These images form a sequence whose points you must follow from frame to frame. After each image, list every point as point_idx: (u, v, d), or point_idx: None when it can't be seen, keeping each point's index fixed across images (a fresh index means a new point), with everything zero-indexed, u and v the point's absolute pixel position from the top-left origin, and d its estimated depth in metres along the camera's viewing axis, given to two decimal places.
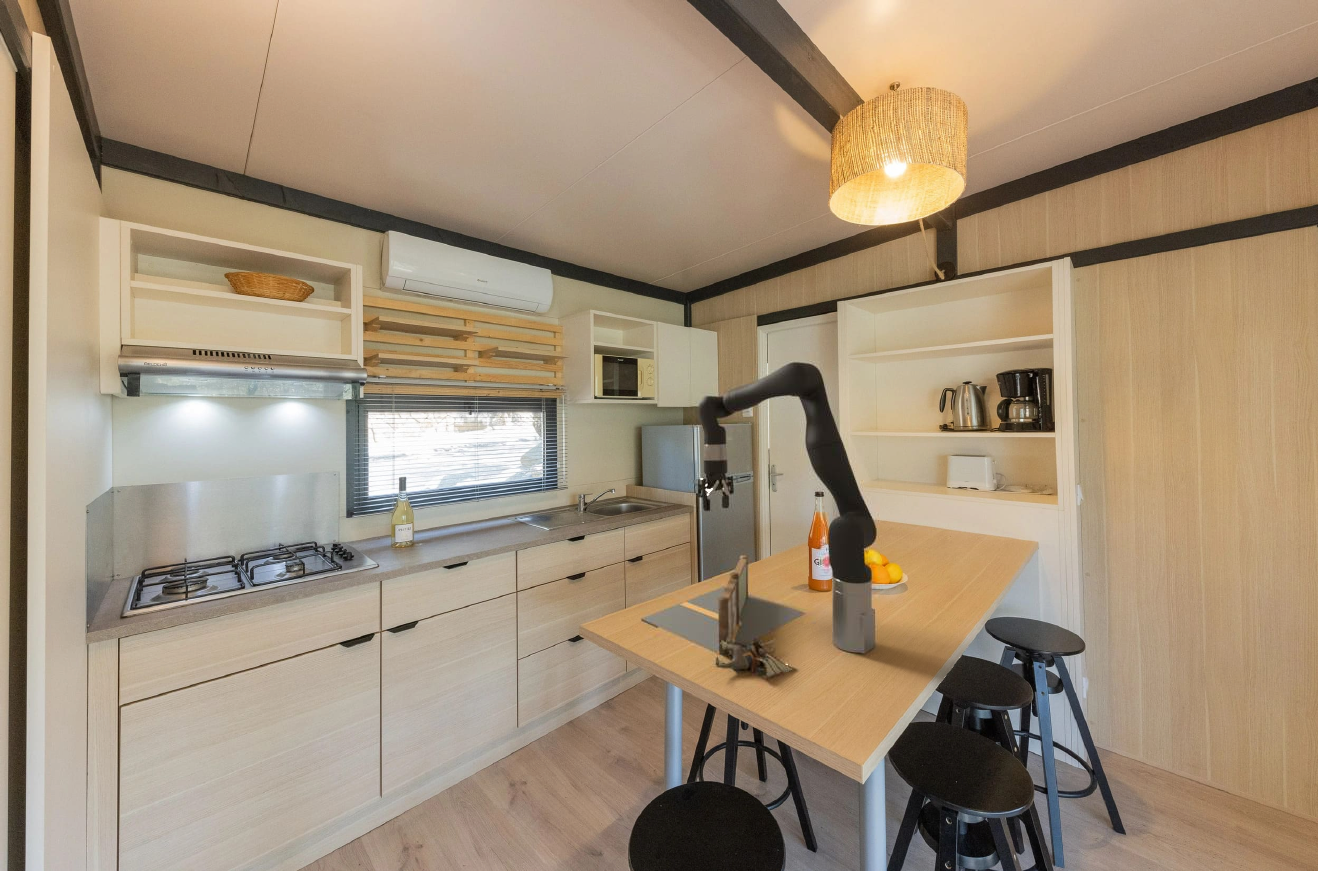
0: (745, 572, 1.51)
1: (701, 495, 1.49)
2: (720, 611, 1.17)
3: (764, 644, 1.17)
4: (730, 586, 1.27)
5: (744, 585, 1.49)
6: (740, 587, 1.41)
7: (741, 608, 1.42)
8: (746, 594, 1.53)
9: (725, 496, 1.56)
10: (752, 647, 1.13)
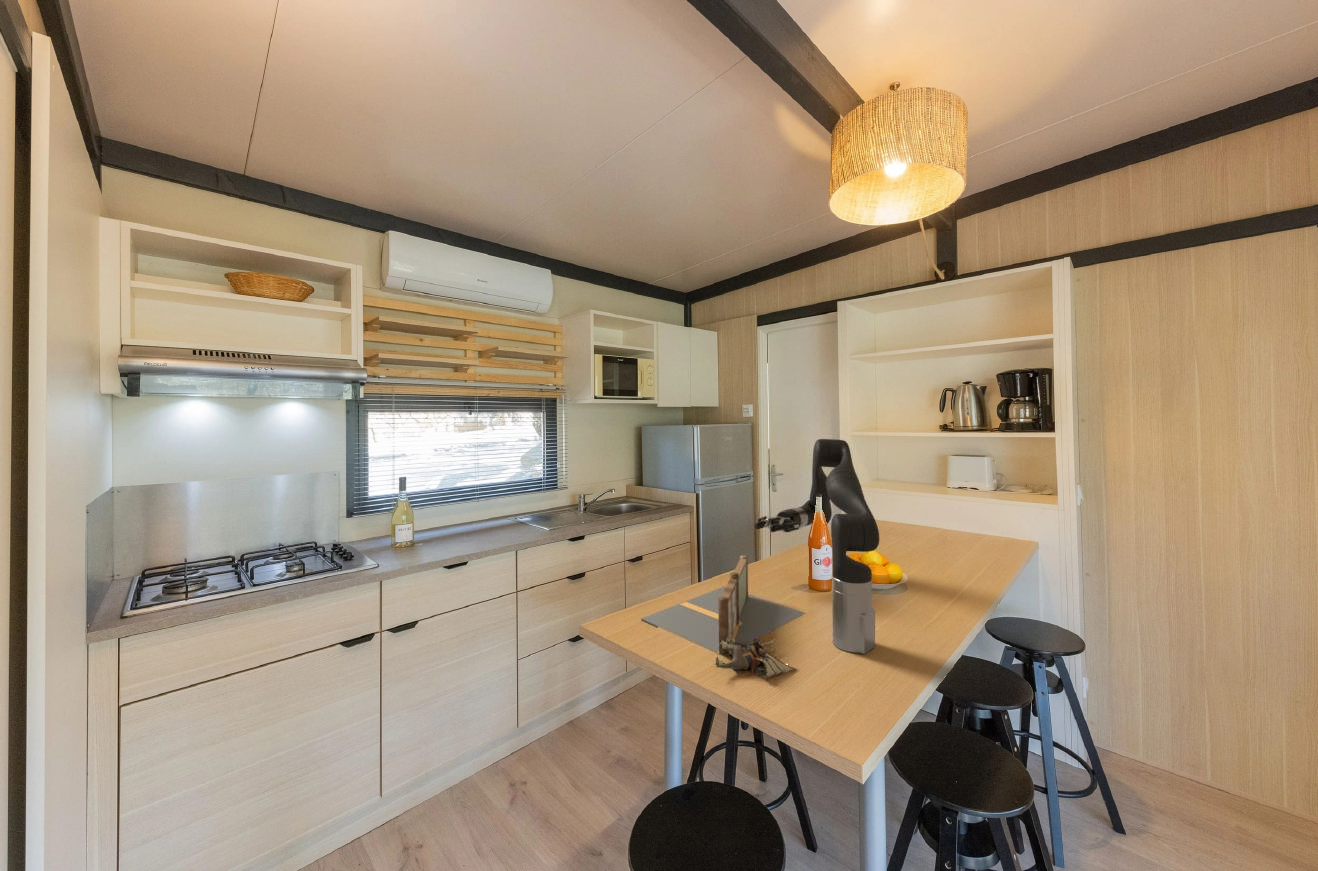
0: (745, 572, 1.51)
1: None
2: (720, 611, 1.17)
3: (764, 644, 1.17)
4: (730, 586, 1.27)
5: (744, 585, 1.49)
6: (740, 587, 1.41)
7: (741, 608, 1.42)
8: (746, 594, 1.53)
9: None
10: (752, 647, 1.13)
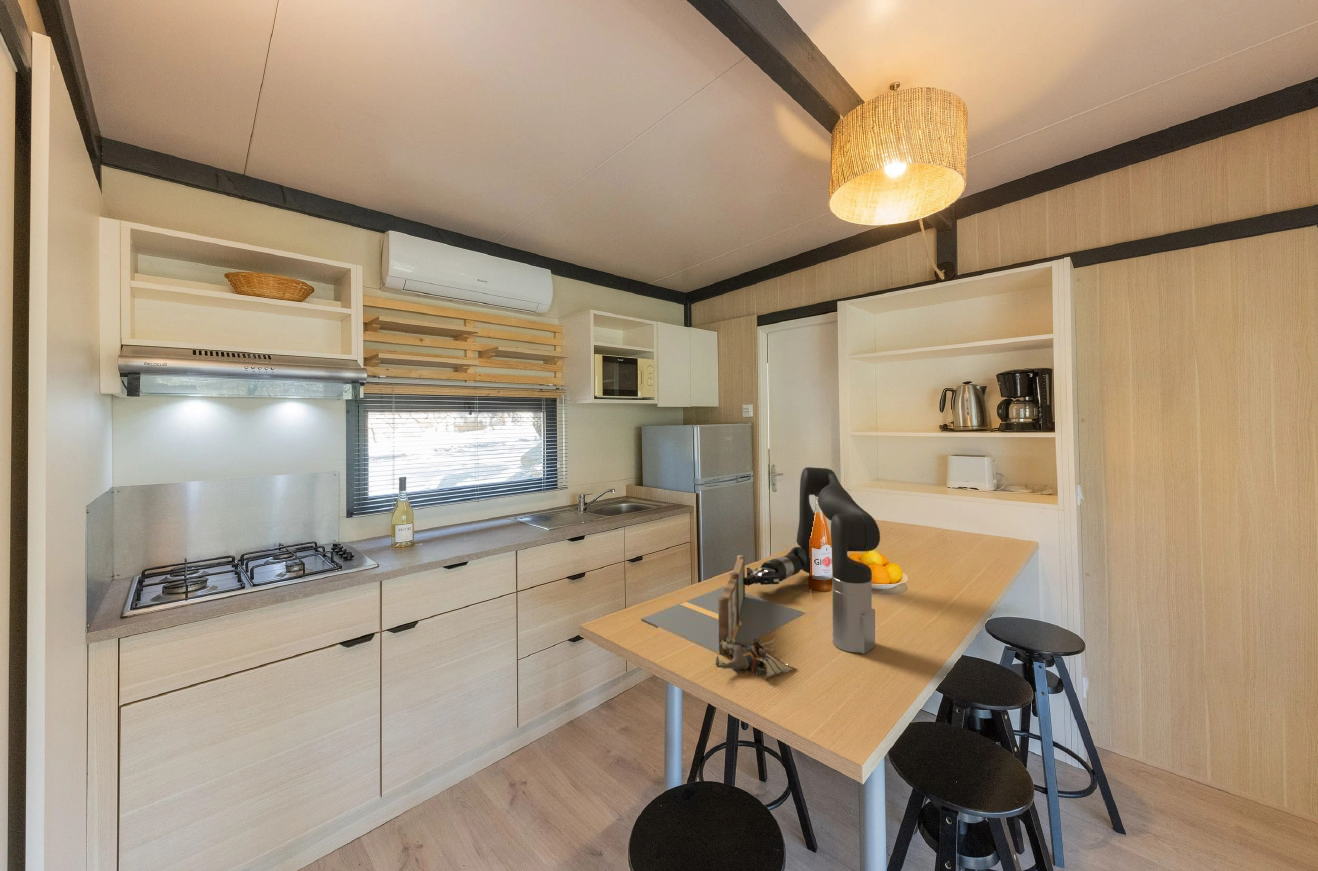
0: (742, 572, 1.52)
1: None
2: (720, 611, 1.17)
3: (764, 644, 1.17)
4: (730, 586, 1.27)
5: None
6: (739, 587, 1.41)
7: (740, 608, 1.43)
8: (743, 594, 1.53)
9: None
10: (752, 647, 1.13)
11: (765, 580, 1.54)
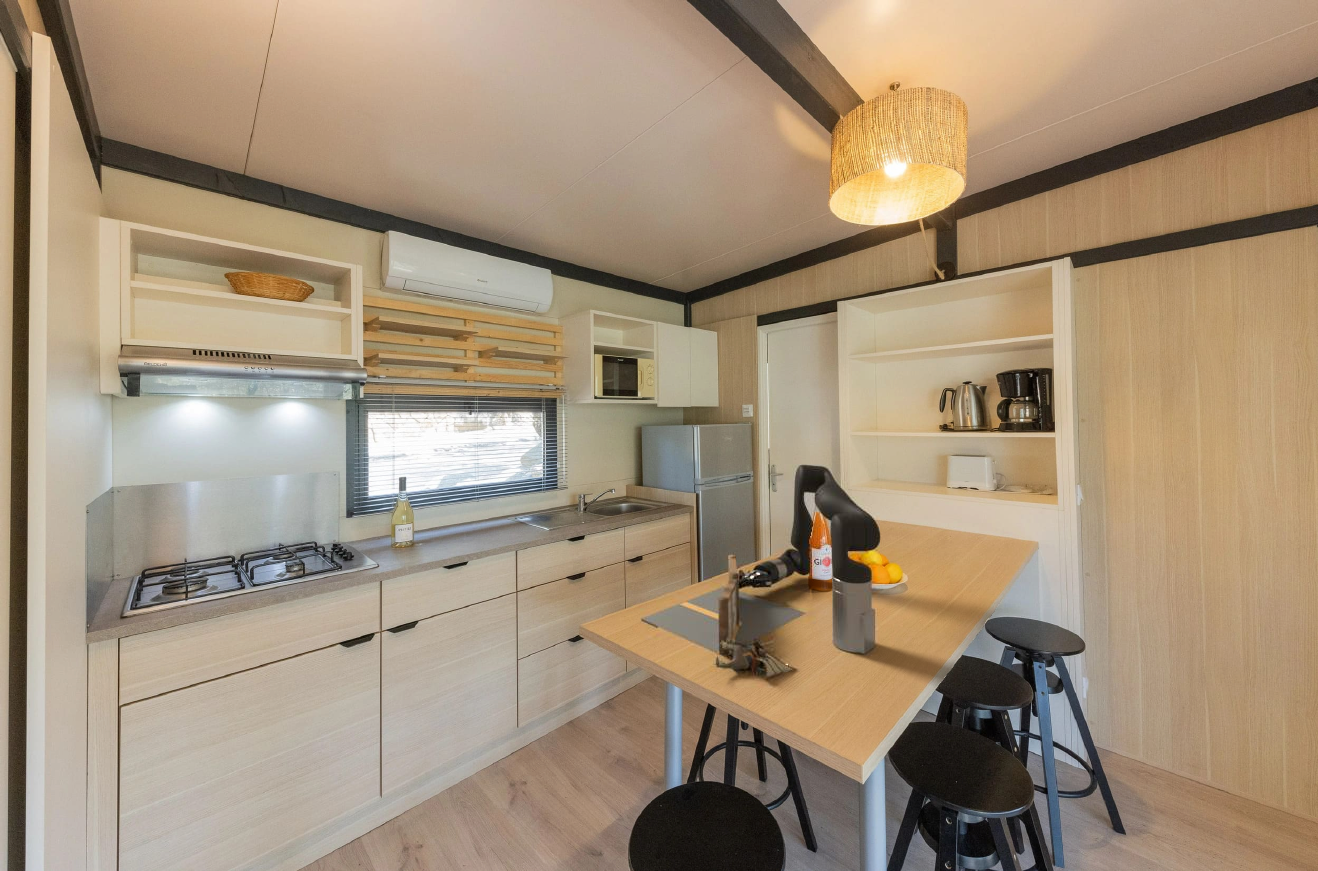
0: None
1: None
2: (720, 611, 1.17)
3: (764, 644, 1.17)
4: (730, 586, 1.27)
5: None
6: None
7: None
8: None
9: None
10: (752, 647, 1.13)
11: (757, 583, 1.52)
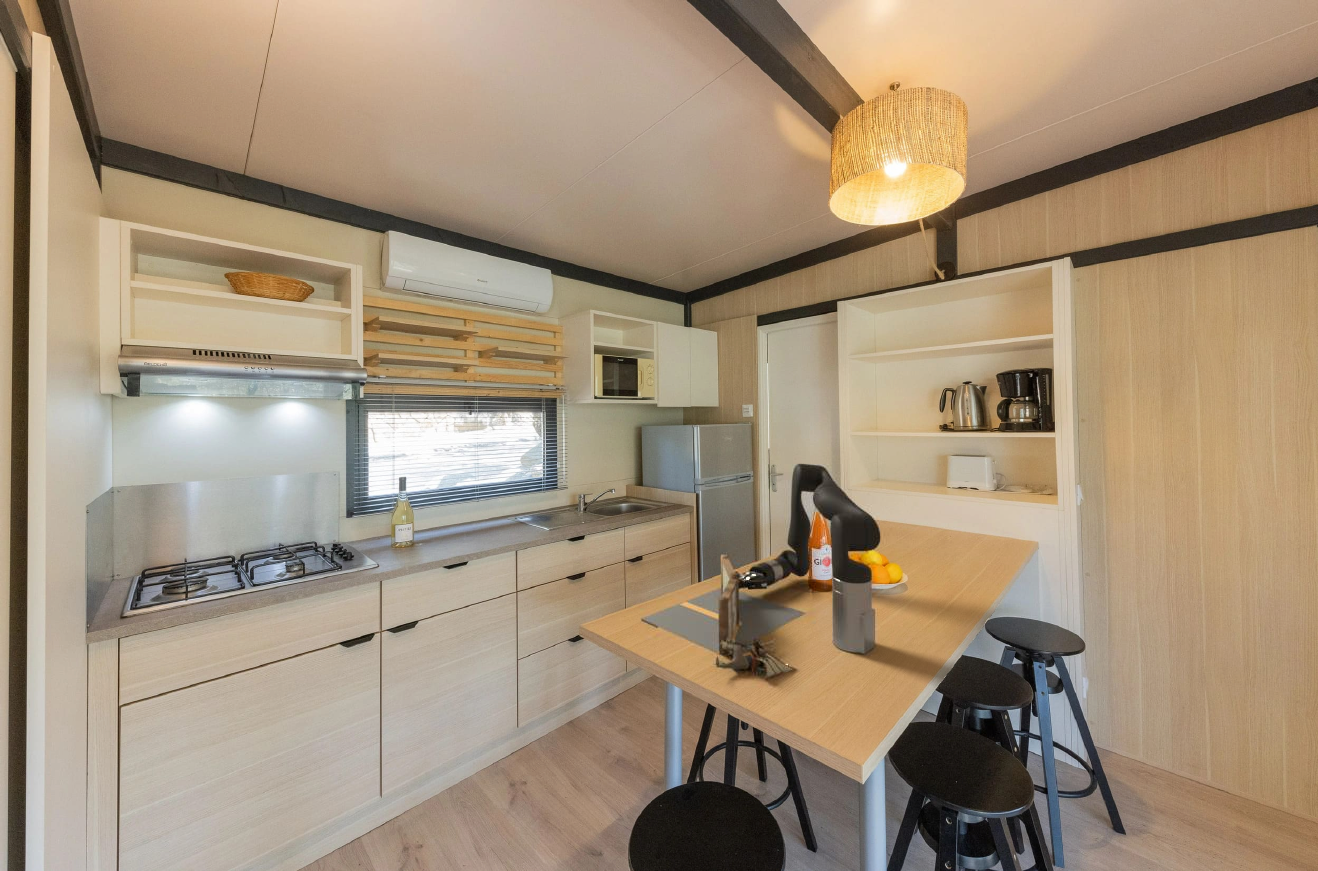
0: None
1: None
2: (720, 611, 1.17)
3: (764, 644, 1.17)
4: (730, 586, 1.27)
5: None
6: None
7: None
8: None
9: None
10: (752, 647, 1.13)
11: (753, 585, 1.50)
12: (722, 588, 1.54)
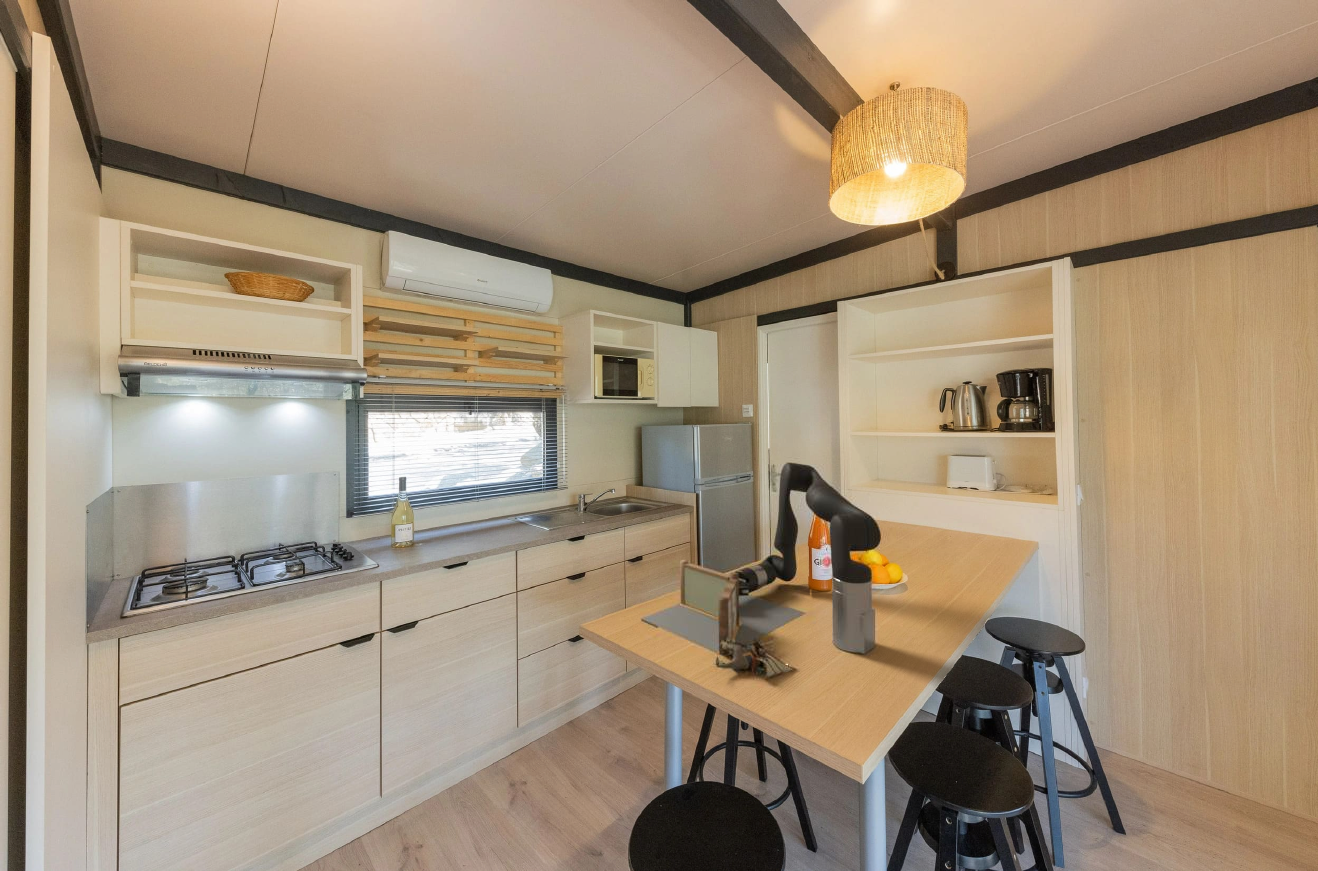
0: None
1: None
2: (720, 611, 1.17)
3: (764, 644, 1.17)
4: (730, 586, 1.27)
5: None
6: None
7: None
8: None
9: None
10: (752, 647, 1.13)
11: None
12: (684, 595, 1.49)
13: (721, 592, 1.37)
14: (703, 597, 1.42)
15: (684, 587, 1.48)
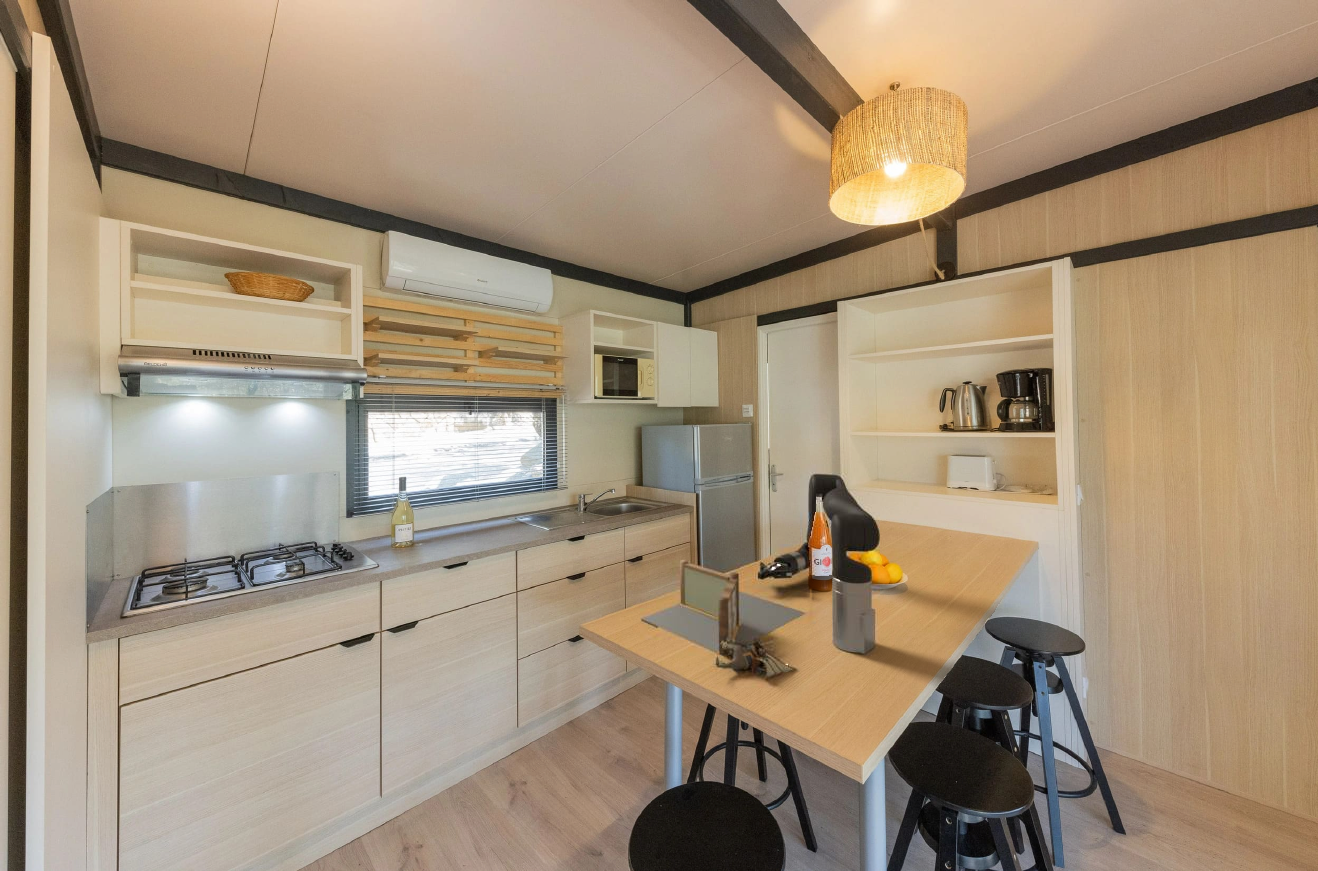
0: None
1: None
2: (720, 611, 1.17)
3: (764, 644, 1.17)
4: (730, 586, 1.27)
5: None
6: None
7: None
8: None
9: None
10: (752, 647, 1.13)
11: (778, 574, 1.60)
12: (684, 595, 1.48)
13: (721, 592, 1.37)
14: (703, 597, 1.42)
15: (684, 587, 1.48)
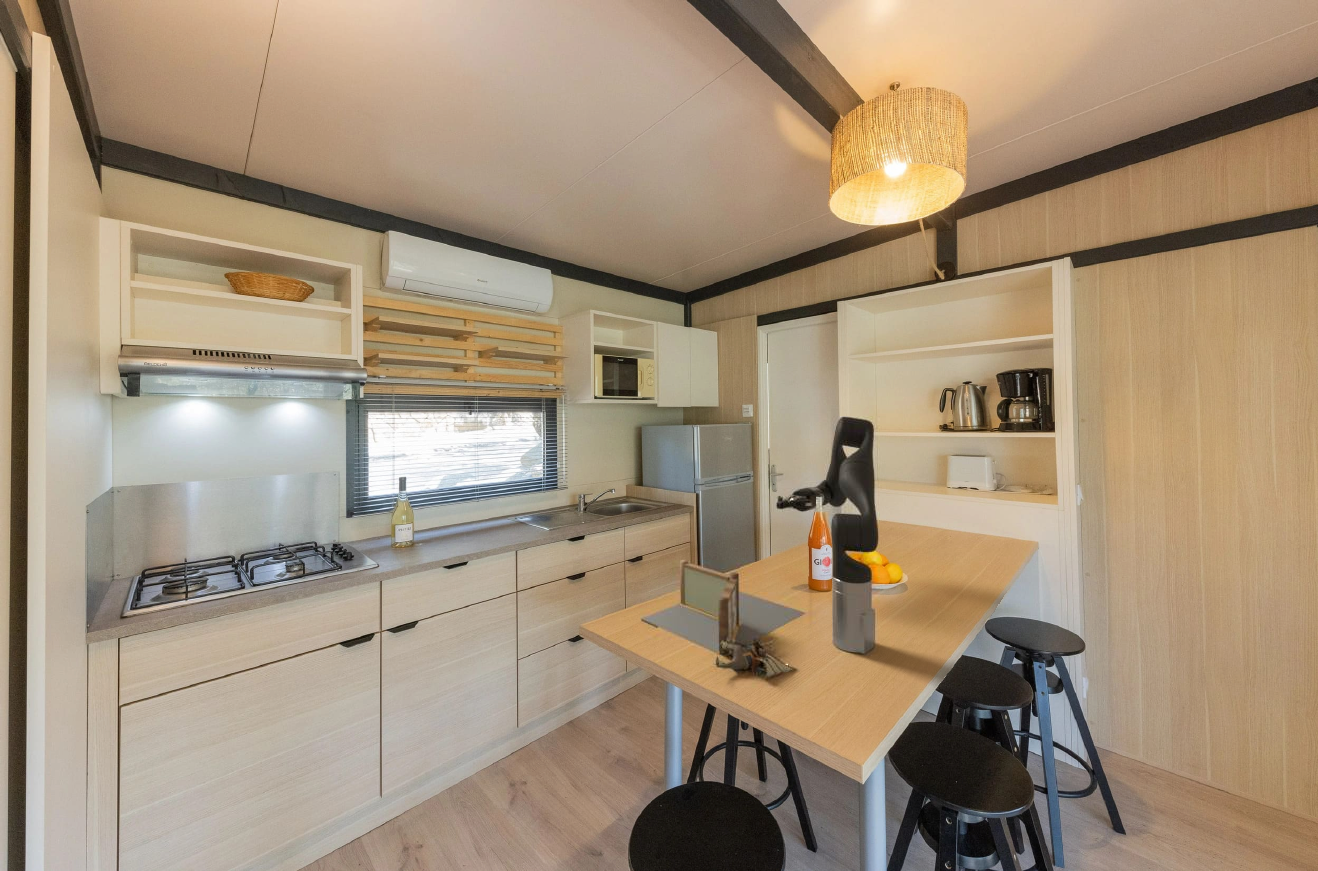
0: None
1: None
2: (720, 611, 1.17)
3: (764, 644, 1.17)
4: (730, 586, 1.27)
5: None
6: None
7: None
8: None
9: None
10: (752, 647, 1.13)
11: (797, 505, 1.56)
12: (684, 595, 1.48)
13: (721, 592, 1.37)
14: (703, 597, 1.42)
15: (684, 587, 1.48)
